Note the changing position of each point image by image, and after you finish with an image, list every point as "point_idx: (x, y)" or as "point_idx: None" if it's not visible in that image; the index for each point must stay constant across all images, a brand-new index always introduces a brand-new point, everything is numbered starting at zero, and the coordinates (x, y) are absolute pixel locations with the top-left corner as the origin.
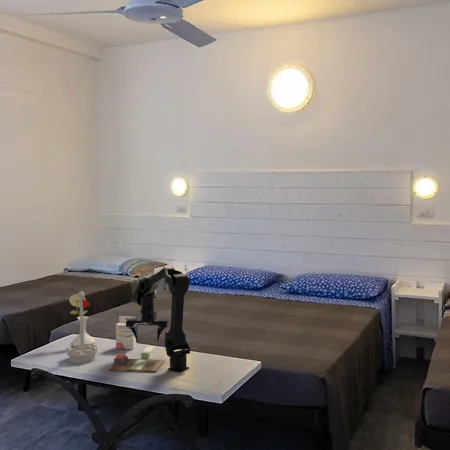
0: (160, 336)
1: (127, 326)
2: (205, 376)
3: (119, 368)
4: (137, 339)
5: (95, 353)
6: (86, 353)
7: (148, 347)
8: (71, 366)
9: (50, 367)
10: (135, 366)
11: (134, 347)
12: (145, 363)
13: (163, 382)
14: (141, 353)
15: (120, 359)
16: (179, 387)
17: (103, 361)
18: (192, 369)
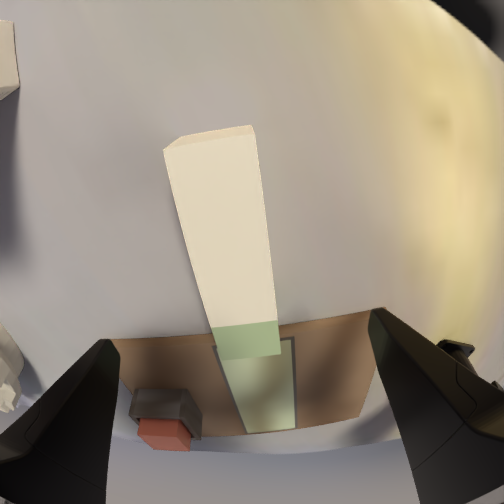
0: (433, 348)
1: None
2: (488, 370)
3: (204, 432)
4: (116, 390)
5: (11, 370)
6: (17, 402)
7: (195, 191)
8: (34, 396)
9: None
10: (259, 416)
11: (13, 56)
12: (292, 387)
13: (382, 435)
14: (224, 358)
15: None
16: None
17: (57, 357)
18: (479, 344)
